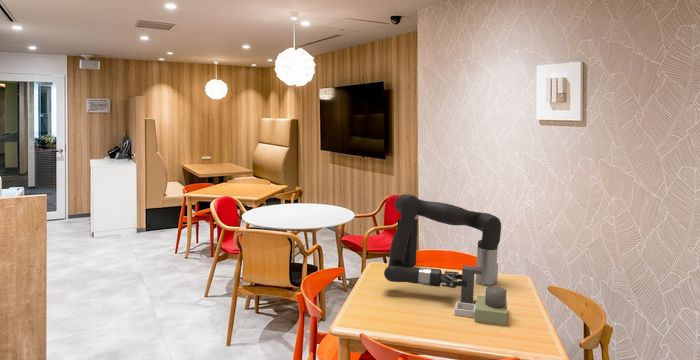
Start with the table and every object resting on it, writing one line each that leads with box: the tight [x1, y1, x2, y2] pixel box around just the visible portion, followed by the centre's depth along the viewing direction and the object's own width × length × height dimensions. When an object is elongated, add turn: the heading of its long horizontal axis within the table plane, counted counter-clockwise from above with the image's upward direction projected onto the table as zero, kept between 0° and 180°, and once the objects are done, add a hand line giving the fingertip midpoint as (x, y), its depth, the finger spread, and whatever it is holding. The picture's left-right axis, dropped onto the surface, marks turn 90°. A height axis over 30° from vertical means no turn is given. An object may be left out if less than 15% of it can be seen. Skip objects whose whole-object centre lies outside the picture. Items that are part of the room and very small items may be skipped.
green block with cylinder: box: [453, 286, 508, 326], centre depth 207 cm, size 20×16×11 cm
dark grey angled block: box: [460, 264, 482, 304], centre depth 220 cm, size 8×5×15 cm, turn 74°
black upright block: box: [397, 218, 419, 268], centre depth 268 cm, size 8×8×28 cm
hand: (467, 281), depth 221 cm, fingers open, 8 cm apart
